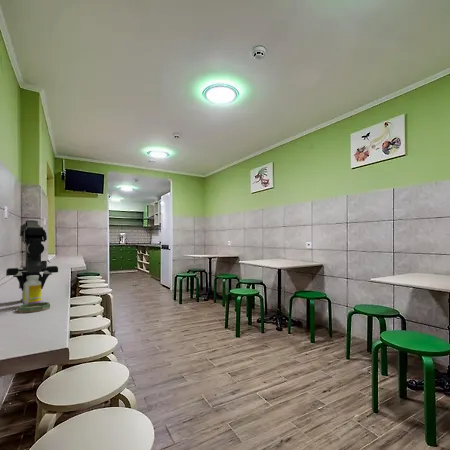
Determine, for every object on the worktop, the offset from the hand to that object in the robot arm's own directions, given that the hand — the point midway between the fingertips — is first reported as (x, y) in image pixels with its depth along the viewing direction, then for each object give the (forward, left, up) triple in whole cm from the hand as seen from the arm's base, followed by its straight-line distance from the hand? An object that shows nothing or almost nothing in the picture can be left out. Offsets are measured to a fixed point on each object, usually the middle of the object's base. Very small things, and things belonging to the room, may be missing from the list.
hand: (32, 290), depth 121 cm
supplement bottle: (0, 0, -7) cm, 7 cm away
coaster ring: (+11, 0, -6) cm, 13 cm away
